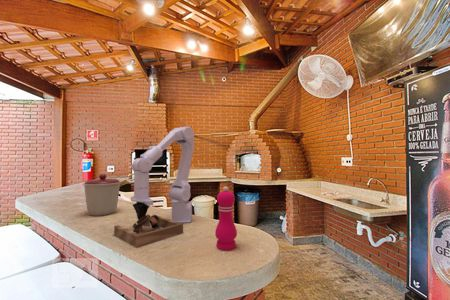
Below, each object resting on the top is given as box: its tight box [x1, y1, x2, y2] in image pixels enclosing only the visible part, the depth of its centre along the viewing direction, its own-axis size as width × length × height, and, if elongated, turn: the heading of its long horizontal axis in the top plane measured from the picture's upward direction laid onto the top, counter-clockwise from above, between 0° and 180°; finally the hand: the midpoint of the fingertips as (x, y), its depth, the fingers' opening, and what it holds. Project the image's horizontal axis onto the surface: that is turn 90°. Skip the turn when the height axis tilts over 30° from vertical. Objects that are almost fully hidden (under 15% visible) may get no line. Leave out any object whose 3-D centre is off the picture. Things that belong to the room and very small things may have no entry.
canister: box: [82, 173, 122, 217], centre depth 122 cm, size 18×18×21 cm
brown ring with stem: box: [132, 214, 161, 234], centre depth 91 cm, size 12×10×8 cm
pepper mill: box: [214, 186, 238, 251], centre depth 77 cm, size 7×7×20 cm
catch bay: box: [113, 215, 184, 248], centre depth 89 cm, size 18×19×4 cm
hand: (141, 221), depth 93 cm, fingers closed
